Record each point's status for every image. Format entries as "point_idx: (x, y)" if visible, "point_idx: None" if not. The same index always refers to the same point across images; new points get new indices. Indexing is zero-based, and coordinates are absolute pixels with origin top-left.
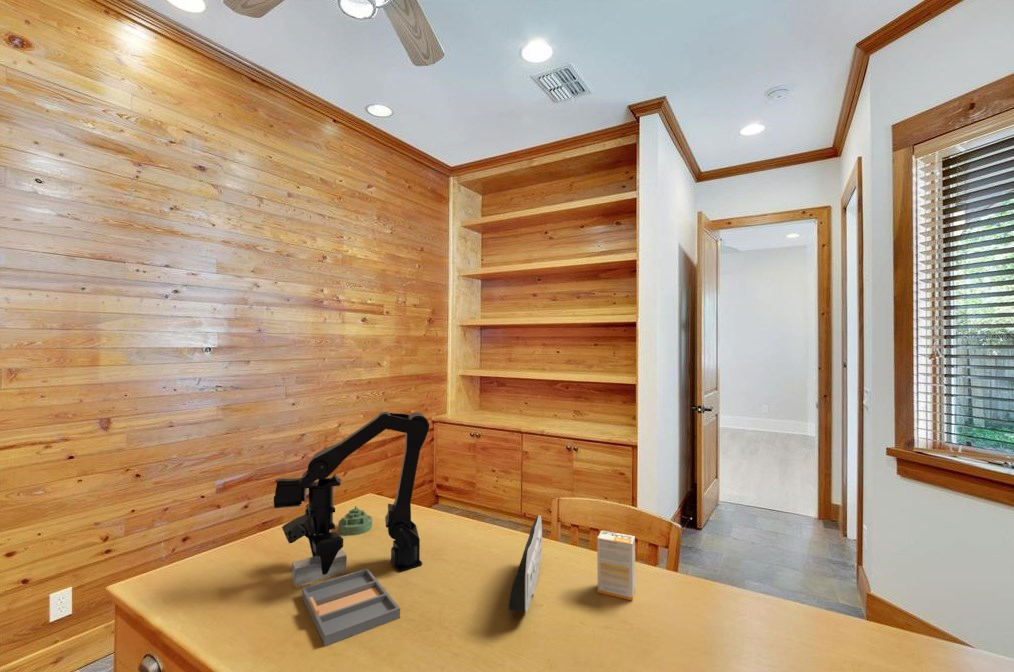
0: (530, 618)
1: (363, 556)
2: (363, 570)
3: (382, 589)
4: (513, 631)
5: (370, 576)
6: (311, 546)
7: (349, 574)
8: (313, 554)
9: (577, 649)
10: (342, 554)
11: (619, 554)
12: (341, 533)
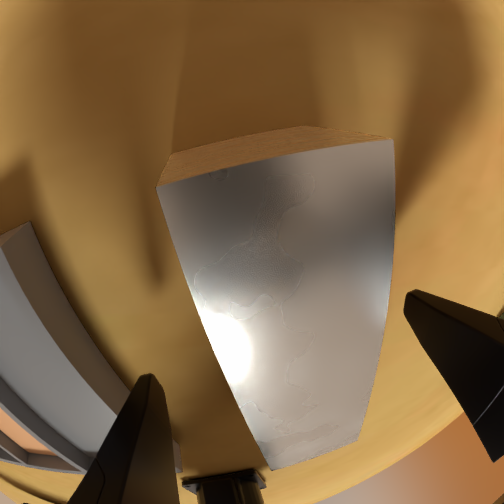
0: (38, 498)
1: None
2: None
3: (43, 467)
4: (11, 484)
5: None
6: (480, 337)
7: None
8: (429, 312)
9: (4, 489)
10: (290, 460)
11: None
12: (500, 317)
